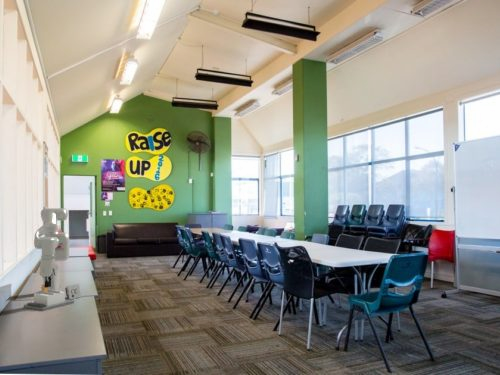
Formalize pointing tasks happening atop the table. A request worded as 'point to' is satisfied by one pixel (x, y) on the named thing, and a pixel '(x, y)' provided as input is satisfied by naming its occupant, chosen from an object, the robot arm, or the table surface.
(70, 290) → the electrical switch
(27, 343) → the table surface
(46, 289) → the handle
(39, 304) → the block
